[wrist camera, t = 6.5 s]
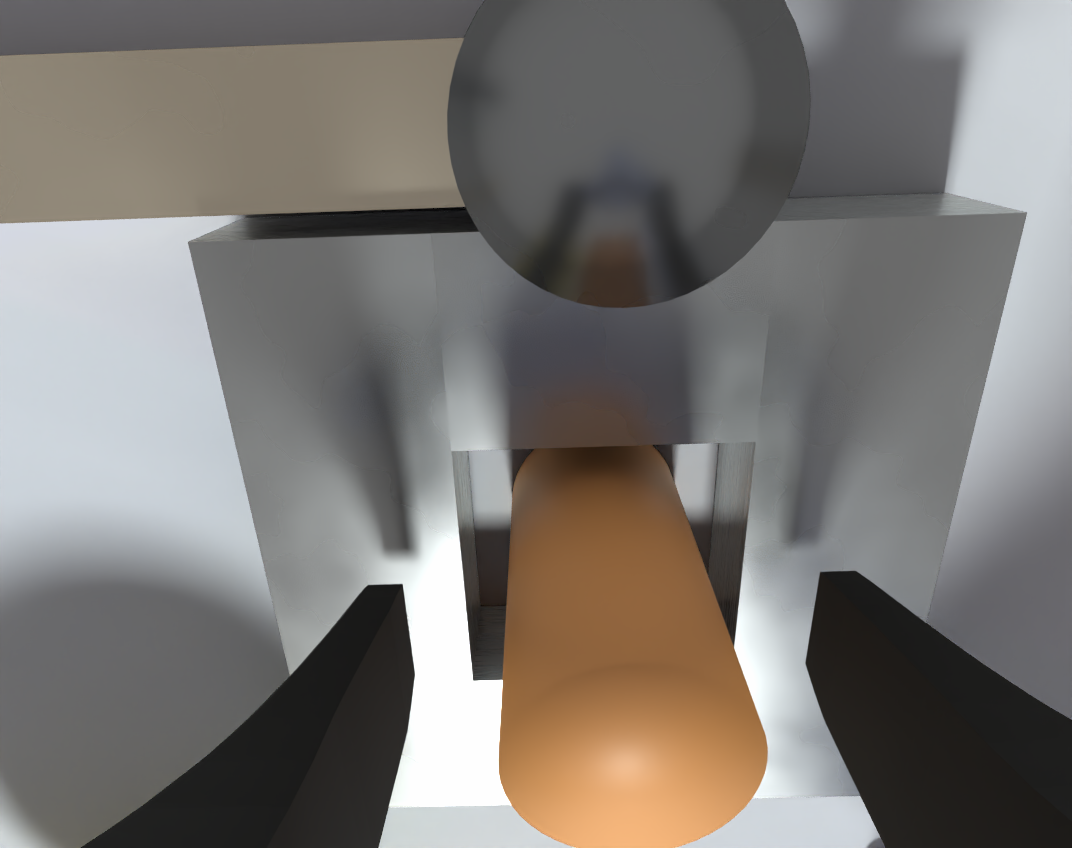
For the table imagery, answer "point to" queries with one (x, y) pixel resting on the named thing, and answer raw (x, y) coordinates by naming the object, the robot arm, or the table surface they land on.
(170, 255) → the table surface
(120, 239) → the table surface
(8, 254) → the table surface
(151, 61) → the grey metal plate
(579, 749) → the orange rounded cylinder
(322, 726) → the robot arm
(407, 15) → the table surface
